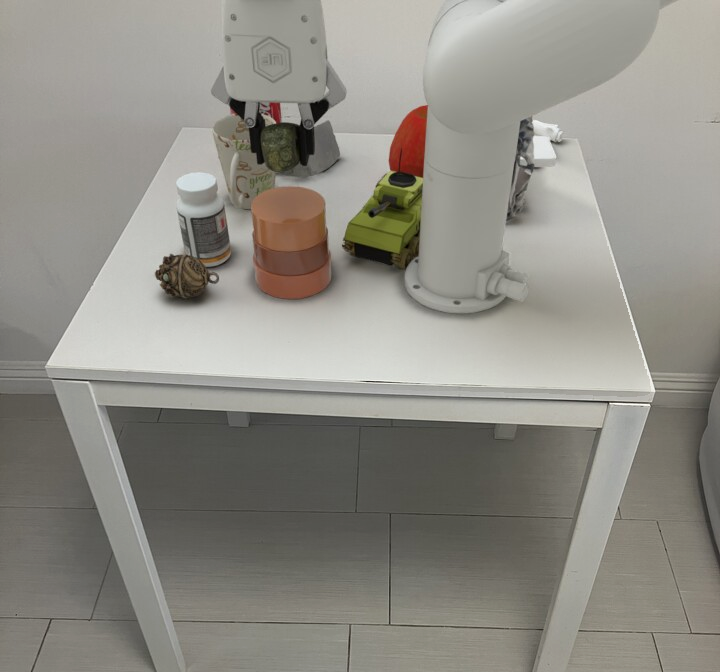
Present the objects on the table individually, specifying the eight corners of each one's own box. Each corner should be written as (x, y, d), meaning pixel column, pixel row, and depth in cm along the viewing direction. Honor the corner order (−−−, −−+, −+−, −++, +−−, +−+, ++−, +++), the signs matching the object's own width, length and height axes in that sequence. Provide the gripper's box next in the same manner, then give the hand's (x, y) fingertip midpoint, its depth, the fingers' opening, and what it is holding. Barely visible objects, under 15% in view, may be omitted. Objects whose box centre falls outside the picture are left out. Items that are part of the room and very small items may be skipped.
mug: (287, 185, 113) (281, 113, 106) (271, 232, 105) (264, 157, 97) (229, 182, 114) (219, 111, 106) (208, 229, 105) (197, 154, 98)
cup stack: (346, 271, 98) (345, 199, 91) (300, 308, 93) (295, 234, 86) (287, 248, 102) (282, 177, 95) (239, 282, 97) (230, 209, 90)
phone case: (448, 137, 120) (548, 135, 120) (447, 146, 121) (546, 144, 121) (453, 160, 115) (557, 157, 115) (452, 169, 116) (555, 167, 116)
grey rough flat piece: (485, 169, 116) (496, 74, 106) (515, 169, 116) (528, 74, 106) (493, 223, 106) (506, 122, 96) (526, 223, 105) (542, 123, 96)
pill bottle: (238, 247, 102) (228, 172, 95) (221, 272, 98) (209, 195, 91) (196, 241, 103) (184, 166, 96) (178, 265, 99) (163, 189, 92)
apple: (464, 201, 109) (472, 124, 102) (388, 201, 109) (390, 124, 102) (458, 166, 116) (465, 91, 109) (387, 166, 116) (388, 92, 109)
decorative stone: (294, 193, 83) (291, 148, 80) (256, 192, 83) (251, 148, 80) (307, 141, 91) (304, 99, 88) (271, 141, 92) (268, 98, 88)
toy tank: (339, 265, 99) (337, 189, 92) (390, 211, 108) (392, 137, 101) (401, 282, 97) (404, 205, 89) (448, 225, 106) (454, 150, 98)
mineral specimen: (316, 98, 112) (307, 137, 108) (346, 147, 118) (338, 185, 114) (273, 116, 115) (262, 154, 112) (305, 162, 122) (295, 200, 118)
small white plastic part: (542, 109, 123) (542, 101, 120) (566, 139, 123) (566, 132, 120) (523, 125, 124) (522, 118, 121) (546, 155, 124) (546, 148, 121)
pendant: (164, 281, 97) (156, 243, 93) (226, 284, 96) (221, 247, 93) (153, 305, 94) (144, 267, 90) (217, 308, 93) (211, 271, 89)
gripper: (171, -21, 73) (201, 173, 86) (356, -18, 72) (357, 178, 85) (189, -45, 78) (215, 142, 91) (362, -42, 77) (362, 146, 90)
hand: (283, 157), depth 88 cm, fingers closed on decorative stone, 4 cm apart
